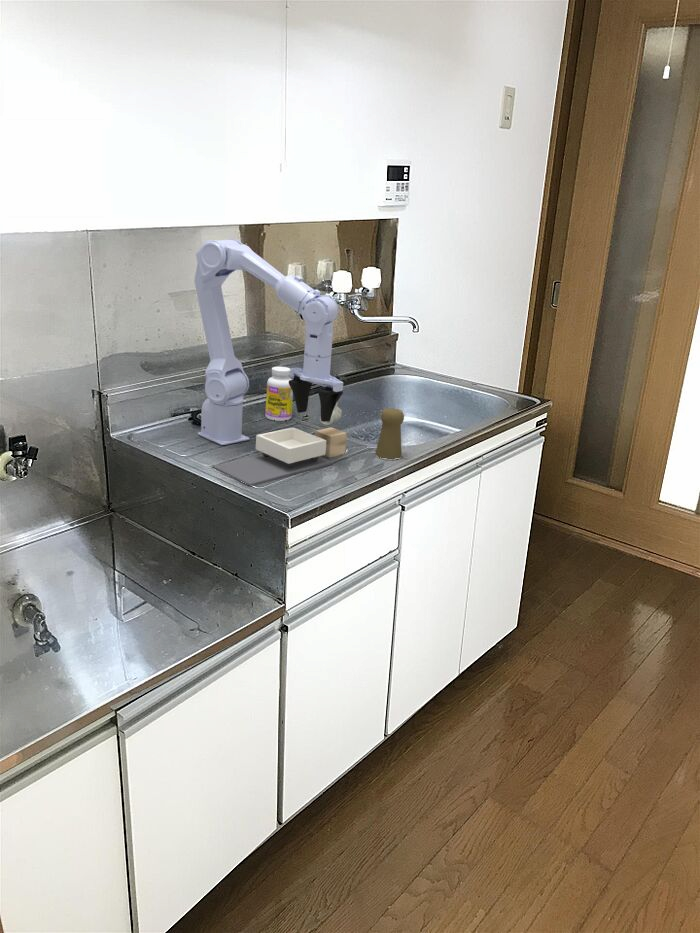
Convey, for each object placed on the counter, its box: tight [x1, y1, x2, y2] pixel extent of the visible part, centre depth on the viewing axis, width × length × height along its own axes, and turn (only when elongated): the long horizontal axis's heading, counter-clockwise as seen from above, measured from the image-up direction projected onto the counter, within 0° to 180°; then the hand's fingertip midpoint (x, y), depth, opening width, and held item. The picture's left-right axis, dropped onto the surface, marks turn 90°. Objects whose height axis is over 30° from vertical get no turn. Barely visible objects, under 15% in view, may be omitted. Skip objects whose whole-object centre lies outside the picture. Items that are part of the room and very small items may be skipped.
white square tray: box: [255, 426, 327, 468], centre depth 167 cm, size 11×11×5 cm
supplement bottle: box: [265, 366, 294, 422], centre depth 196 cm, size 7×7×13 cm
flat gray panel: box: [212, 454, 333, 487], centre depth 165 cm, size 12×23×1 cm, turn 136°
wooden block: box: [314, 426, 348, 459], centre depth 175 cm, size 5×5×5 cm
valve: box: [319, 373, 347, 427], centre depth 195 cm, size 7×7×12 cm
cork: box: [375, 407, 405, 459], centre depth 176 cm, size 6×6×11 cm
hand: (313, 416), depth 169 cm, fingers open, 7 cm apart
